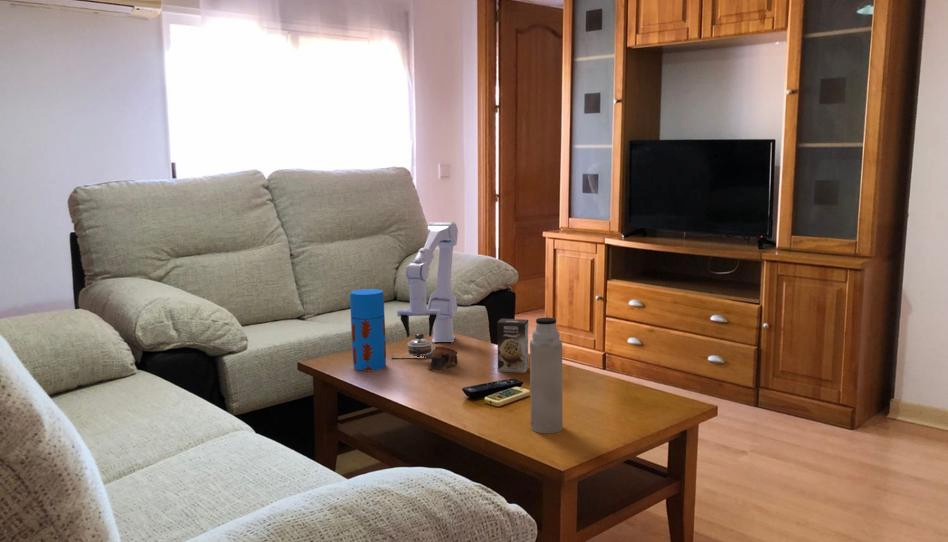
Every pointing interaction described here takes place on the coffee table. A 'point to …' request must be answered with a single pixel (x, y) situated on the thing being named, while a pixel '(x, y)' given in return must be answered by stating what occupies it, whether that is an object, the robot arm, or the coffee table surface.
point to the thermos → (368, 329)
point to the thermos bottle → (546, 377)
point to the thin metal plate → (420, 350)
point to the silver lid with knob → (419, 340)
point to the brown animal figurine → (442, 358)
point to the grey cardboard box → (513, 345)
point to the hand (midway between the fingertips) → (419, 336)
